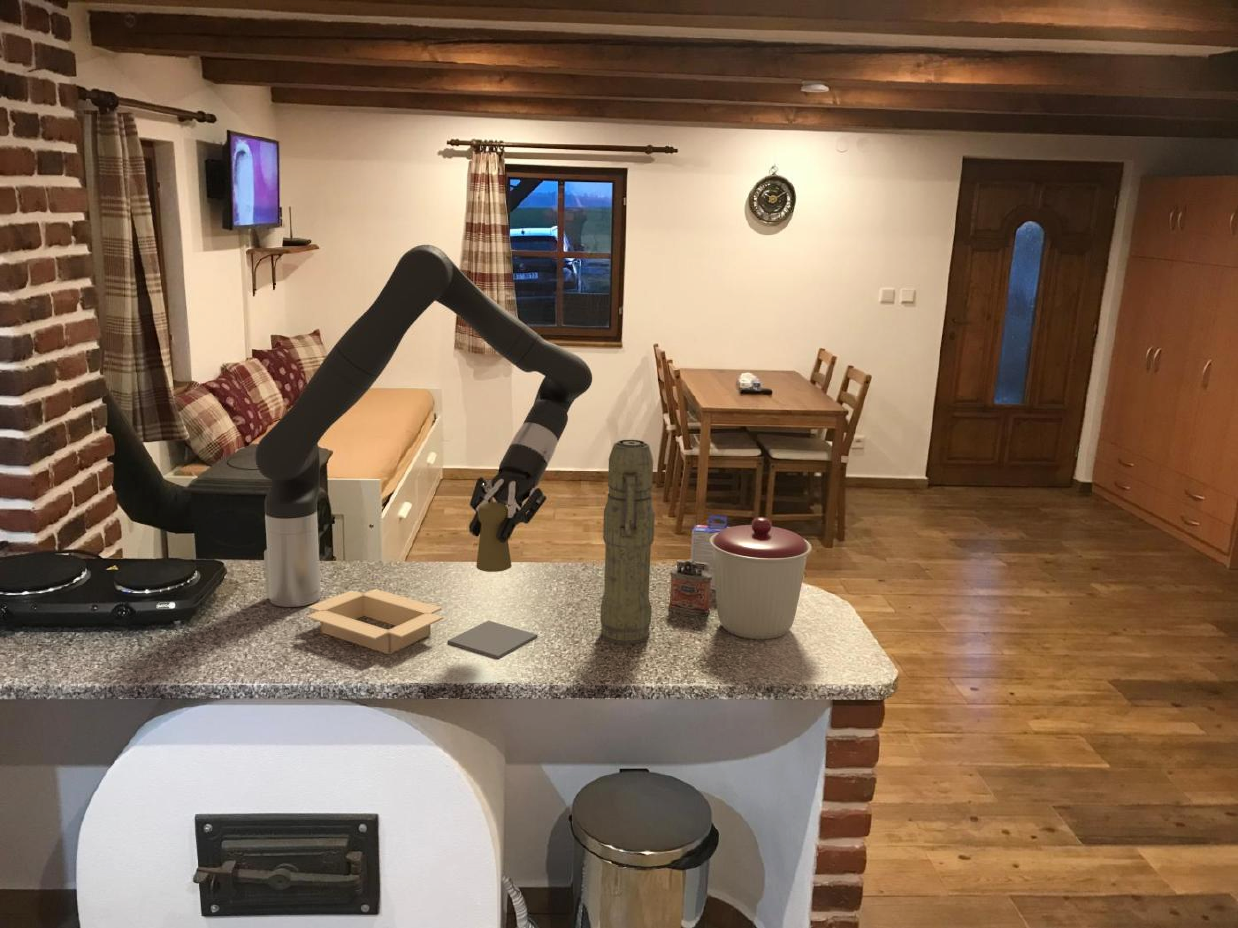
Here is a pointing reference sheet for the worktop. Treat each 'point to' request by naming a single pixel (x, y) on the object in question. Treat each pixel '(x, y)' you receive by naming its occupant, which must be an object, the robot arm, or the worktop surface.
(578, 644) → the worktop surface
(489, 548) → the cork
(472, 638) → the mat
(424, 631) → the carton
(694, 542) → the ink cartridge box
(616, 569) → the thermos
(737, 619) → the canister
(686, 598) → the lighter
